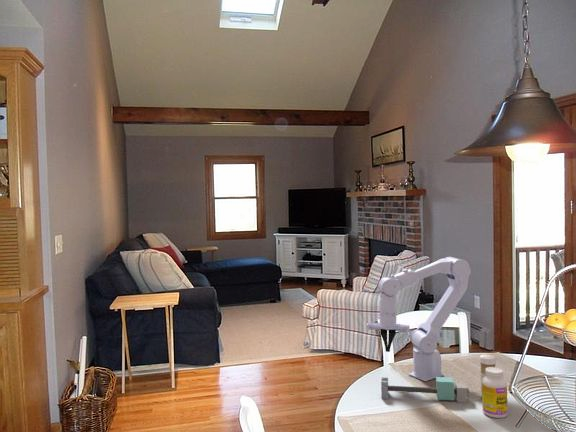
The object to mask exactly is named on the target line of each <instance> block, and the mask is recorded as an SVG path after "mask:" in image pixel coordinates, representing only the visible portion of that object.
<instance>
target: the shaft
mask: <svg viewBox="0 0 576 432" xmlns="http://www.w3.org/2000/svg"><path fill="white" fill-rule="evenodd" d="M388 392H400V393H401V392H405V393H422V394H425V393H426V394H436V393H437V388H436V387H421V386H403V385H402V386H399V385H388ZM456 394H457V390H456V388H454V395H456Z"/></svg>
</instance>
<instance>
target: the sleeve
mask: <svg viewBox="0 0 576 432" xmlns="http://www.w3.org/2000/svg"><path fill="white" fill-rule="evenodd" d="M435 386H436V387H435V388H437V393H435V394H436V400H442V401H455V394H454V389H455V381H454V378H453V377H451V376H450V377H449V376H447V377H446V376H440V377H436V378H435Z"/></svg>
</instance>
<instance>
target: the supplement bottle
mask: <svg viewBox="0 0 576 432" xmlns="http://www.w3.org/2000/svg"><path fill="white" fill-rule="evenodd" d="M485 373H486V376H485V377H483V379H482V391H481V396H482V398H481V400H482V403H481V405H482V412H483V414H485V415H486V416H488V417H490V418H495V419H502V418H505V417H507V415H508V382H507V380H506V379H505V378H504V377H503V376H504V369H502V368H500V367H496V366H495V367H487V368H486V369H485Z"/></svg>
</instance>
